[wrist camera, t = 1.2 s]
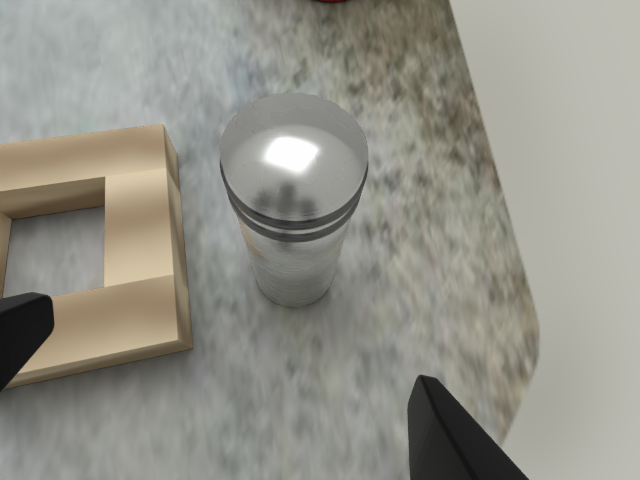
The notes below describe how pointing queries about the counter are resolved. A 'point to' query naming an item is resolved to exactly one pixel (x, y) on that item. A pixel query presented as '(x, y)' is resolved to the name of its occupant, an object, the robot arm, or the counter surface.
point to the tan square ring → (106, 245)
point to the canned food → (331, 0)
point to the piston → (294, 189)
